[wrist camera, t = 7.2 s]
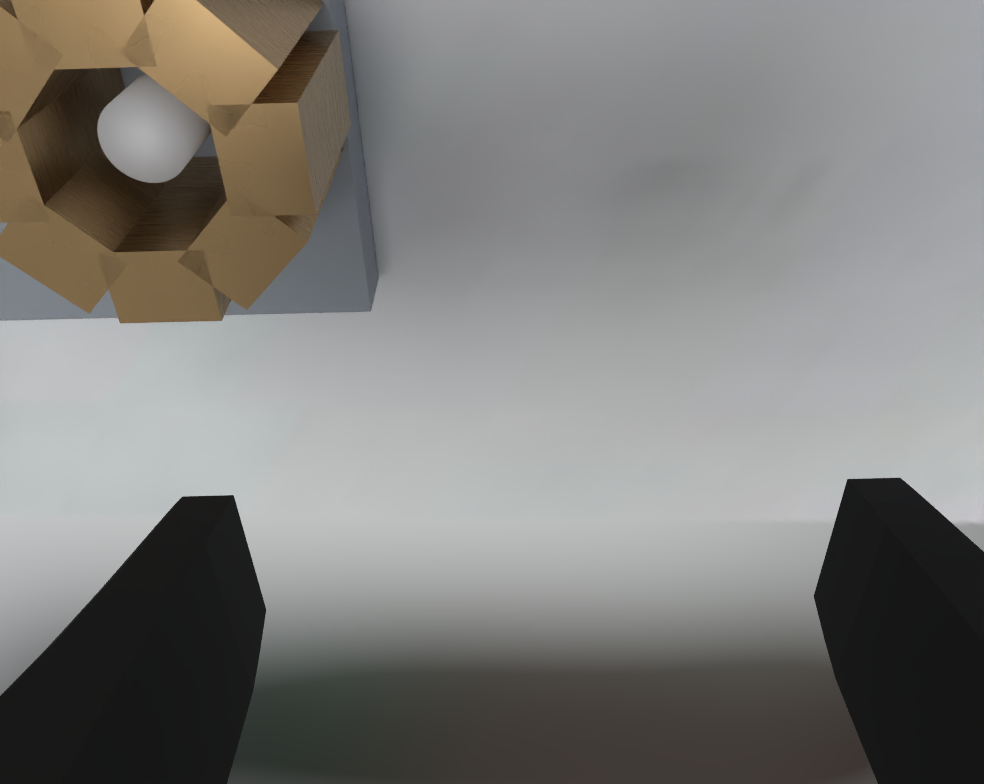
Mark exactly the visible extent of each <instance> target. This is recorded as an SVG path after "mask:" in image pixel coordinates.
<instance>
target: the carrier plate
mask: <svg viewBox="0 0 984 784" xmlns="http://www.w3.org/2000/svg"><path fill="white" fill-rule="evenodd" d="M322 1H323V2H324V4H323V6H322V7H321V9H320V10H319V12H318V13H317V14H316V16H315V17H314V19H313V20H312V22H311V23H310V25H309V26H308V27H307V29H306V30H305V31H328V30H339V35H340V43H341V51H342V59H343V66H344V74H345V82H346V90H347V97H348V105H349V113H350V121H351V126H350V128H349V131H348V133H347V136H346V138H345V141H344V143H343V146H342V147H343V148H344V150H343V153H342V155H341V158H340V160H339V163H338V166H337V168H336V171H335V173H334V176H333V178H332V181H331V184H330V186H329V189H328V191H327V194H326V197H325V199H324V202H323V204H322V207H321V210H320V212H319V215H318V217H317V220H316V223H315V225H314V228H313V230H312V233H311V235H310V238H309V241H308V243H307V244H306V245H305V246H304V247H303V248H302V249H301V250H300V251H299V253H298V254H297V255H296V256H295V257H294V258H293V259H292V260H291V261H290V263H289V264H288V265H287V266H286V267H285V268H284V269H283V270H282V271H281V273H280V274H279V275H278V276H277V277H276V278H275V279H274V280H273V282H272V283H271V284H270V285H269V286H268V287H267V288H266V289H265V290H264V292H263V293H262V294H261V295H260V296H259V297H258V298H257V299H256V300H255V302H254V303H253V304H252V305H251V306H250V307H249V308H248V309H247V310H246V309H244V308H243V307H241V306H240V305H239V304H237V303H236V302H234V301H233V300H231V302H230V304H229V306H228V308H227V310H226V313H225V315H244V314H284V313H324V312H364V311H371V308H372V304H373V299H374V295H375V290H376V286H377V282H378V271H377V263H376V255H375V247H374V239H373V231H372V223H371V215H370V207H369V199H368V191H367V182H366V174H365V166H364V158H363V150H362V142H361V134H360V126H359V118H358V110H357V102H356V94H355V86H354V77H353V69H352V61H351V53H350V45H349V37H348V29H347V21H346V13H345V5H344V0H322ZM120 70H121V74H122V78H123V81H124V85H125V88H126V89H124V90H123V91H122V92H121V93H120V94H119V95H118V96H117V97H115V98H114V99H113V100H112V101H111V102H110V103H109V104H108V105H107V106H106V107H105V108H104V109H103V111H102V112H101V114H100V117H99V120H98V125H97V132H98V139H99V142H100V145H101V148H102V150H103V152H104V153H105V155H106V156H107V158H108V159H109V160H110V162H111V163H112V164H113V165H114V166H115V167H116V168H117V169H119V170H120V171H121V172H122V173H124V174H126V175H127V176H129V177H131V178H133V179H136V180H139V181H142V182H148V183H161V182H165V181H168V180H171V179H172V178H174V177H176V176H177V175H178V174H179V173H180V172H181V171H182V170H183V169H184V167H185V166H186V165H187V163H188V162H189V161H190V160H191V158H192V157H209V156H217V153H216V148H215V144H214V140H213V135H212V131H211V126H210V124H209V123H208V122H207V121H205V120H204V119H203V118H202V117H200V116H199V115H198V114H196V113H195V112H194V111H193V110H191V109H190V108H189V107H188V106H186V105H185V104H184V103H182V102H181V101H180V100H179V99H177V98H176V97H175V96H174V95H172V94H171V93H170V92H169V91H167V90H166V89H165V88H163V87H162V86H161V85H160V84H158V83H157V82H156V81H155V80H153V79H152V78H151V77H150V76H148V75H147V74H146V73H144V72H143V71H142V70H141V69H139V68H138V67H121V68H120ZM6 225H7V223H0V234H1V233H2V231H3V230H4V228H5V226H6ZM83 318H118V316H117V313H116V310H115V307H114V304H113V301H112V298H111V295H110V292H109V289H108V290H107V292H106V293H105V294H104V296H103V297H102V298H101V299H100V301H99V302H98V303H97V305H96V306H95V307H94V309H93V310H92V311H91V312H90V314H88V313H87V312H85V311H84V310H82V309H81V308H79V307H78V306H76V305H74V304H73V303H71V302H70V301H68V300H67V299H65V298H64V297H62V296H60V295H59V294H57V293H56V292H54V291H53V290H51V289H50V288H48V287H46V286H45V285H43V284H42V283H40V282H39V281H37V280H35V279H34V278H32V277H31V276H29V275H28V274H26V273H25V272H23V271H21V270H20V269H18V268H17V267H15V266H14V265H12V264H11V263H9V262H7V261H6V260H4V259H3V258H1V257H0V321H3V320H43V319H83Z"/></svg>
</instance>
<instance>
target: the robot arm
mask: <svg viewBox="0 0 984 784" xmlns="http://www.w3.org/2000/svg"><path fill="white" fill-rule="evenodd" d="M814 599H815V603H816V607H817V611H818V615H819V619H820V622H821V627H822V631H823V635H824V639H825V643H826V646H827V650H828V653H829V657H830V660H831V663H832V667H833V671H834V674H835V678H836V680H837V683H838V686H839V688H840V691H841V693H842V696H843V698H844V701H845V703H846V706H847V708H848V711H849V713H850V716H851V718H852V721H853V723H854V726H855V728H856V731H857V733H858V736H859V738H860V741H861V743H862V746H863V748H864V750H865V753H866V755H867V758H868V760H869V763H870V765H871V768H872V770H873V773H874V775H875V777H876V780H877V782H878V784H984V552H983V551H982V550H981V549H980V548H979V547H978V546H977V545H975V544H974V543H973V542H972V541H971V540H970V539H969V538H968V537H967V536H965V535H964V534H963V533H962V532H961V531H960V530H959V529H958V528H956V527H955V526H954V525H953V524H952V523H951V522H950V521H949V520H948V519H947V518H945V517H944V516H943V515H942V514H941V513H940V512H939V511H938V510H937V509H935V508H934V507H933V506H932V505H931V504H930V503H929V502H928V501H926V500H925V499H924V498H923V497H922V496H921V495H920V494H918V493H917V492H916V491H915V490H914V489H913V488H912V487H910V486H909V485H908V484H907V483H906V482H905V481H903V480H902V479H901V478H874V479H847V483H846V486H845V490H844V493H843V497H842V500H841V504H840V507H839V510H838V514H837V517H836V521H835V524H834V528H833V532H832V535H831V539H830V542H829V545H828V549H827V552H826V556H825V559H824V563H823V566H822V569H821V573H820V576H819V580H818V583H817V587H816V591H815V594H814ZM265 614H266V608H265V604H264V601H263V597H262V594H261V590H260V586H259V583H258V579H257V576H256V573H255V569H254V565H253V562H252V558H251V555H250V551H249V548H248V544H247V541H246V537H245V534H244V530H243V527H242V524H241V520H240V516H239V513H238V509H237V506H236V502H235V499H234V495H228V496H190V497H182V498H181V499H180V500H179V501H178V502H177V503H176V504H175V505H174V506H173V507H172V508H171V509H170V511H169V512H168V513H167V514H166V515H165V516H164V517H163V518H162V520H161V521H160V522H159V523H158V524H157V525H156V526H155V528H154V529H153V530H152V531H151V532H150V533H149V535H148V536H147V537H146V538H145V539H144V540H143V541H142V543H141V544H140V545H139V546H138V547H137V549H136V550H135V551H134V552H133V553H132V554H131V555H130V557H129V558H128V559H127V560H126V561H125V562H124V563H123V565H122V566H121V567H120V568H119V569H118V570H117V571H116V573H115V574H114V575H113V576H112V577H111V578H110V580H108V582H107V583H106V584H105V585H104V586H103V587H102V589H101V590H100V591H99V592H98V593H97V594H96V595H95V596H94V597H93V598H92V600H91V601H90V602H89V603H88V604H87V605H86V606H85V607H84V608H83V609H82V611H81V612H80V613H79V614H78V615H77V616H76V617H75V618H74V619H73V621H72V622H71V623H70V624H69V625H68V626H67V627H66V628H65V629H64V630H63V631H62V633H61V634H60V635H59V636H58V637H57V638H56V639H55V640H54V641H53V642H52V644H51V645H50V646H49V647H48V648H47V649H46V650H45V651H44V652H43V653H42V654H41V655H40V656H39V657H38V658H37V659H36V660H35V661H34V662H33V663H32V664H31V665H30V666H29V667H28V668H27V669H26V670H25V671H24V672H23V673H22V674H21V675H20V677H18V679H16V681H15V682H14V683H13V684H12V685H11V686H10V687H9V688H8V689H7V690H6V691H5V692H4V693H3V694H2V695H1V696H0V784H227V781H228V777H229V774H230V771H231V767H232V764H233V760H234V757H235V753H236V750H237V746H238V743H239V739H240V736H241V732H242V729H243V725H244V722H245V718H246V715H247V711H248V707H249V704H250V700H251V696H252V693H253V688H254V683H255V677H256V671H257V665H258V660H259V654H260V647H261V640H262V634H263V627H264V620H265Z"/></svg>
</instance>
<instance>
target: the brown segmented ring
mask: <svg viewBox="0 0 984 784" xmlns="http://www.w3.org/2000/svg"><path fill="white" fill-rule="evenodd" d="M323 4H324V2H323V1H322V0H0V223H7V225H6V226H5V228H4V230H3V231H2V233H1V234H0V257H1V258H3V259H4V260H6V261H7V262H9V263H11V264H12V265H14V266H15V267H17V268H18V269H20V270H21V271H23V272H25V273H26V274H28V275H29V276H31V277H32V278H34V279H35V280H37V281H39V282H40V283H42V284H43V285H45V286H46V287H48V288H50V289H51V290H53V291H54V292H56V293H57V294H59V295H60V296H62V297H64V298H65V299H67V300H68V301H70V302H71V303H73V304H74V305H76V306H78V307H79V308H81V309H82V310H84V311H85V312H87V313H88V314H90V312H91V311H92V310H93V309H94V307H95V306H96V305H97V303H98V302H99V301H100V299H101V298H102V297H103V296H104V294H105V293H106V292H107V290H108V289H109V292H110V295H111V298H112V301H113V304H114V307H115V310H116V313H117V316H118V319H119V321H120V323H146V322H187V321H222V319H223V317H224V315H225V313H226V310H227V308H228V306H229V304H230V302H231V300H233V301H234V302H236V303H237V304H239V305H240V306H241V307H243V308H244V309H246V310H247V309H248V308H249V307H250V306H251V305H252V304H253V303H254V302H255V300H256V299H257V298H258V297H259V296H260V295H261V294H262V293H263V292H264V290H265V289H266V288H267V287H268V286H269V285H270V284H271V283H272V282H273V280H274V279H275V278H276V277H277V276H278V275H279V274H280V273H281V271H282V270H283V269H284V268H285V267H286V266H287V265H288V264H289V263H290V261H291V260H292V259H293V258H294V257H295V256H296V255H297V254H298V253H299V251H300V250H301V249H302V248H303V247H304V246H305V245H306V244H307V243H308V241H309V238H310V235H311V233H312V230H313V228H314V225H315V223H316V220H317V217H318V215H319V212H320V210H321V207H322V204H323V202H324V199H325V197H326V194H327V191H328V189H329V186H330V184H331V181H332V178H333V176H334V173H335V171H336V168H337V166H338V163H339V160H340V158H341V155H342V153H343V150H344V148H343V147H342V146H343V143H344V141H345V138H346V136H347V133H348V131H349V128H350V126H351V121H350V113H349V105H348V97H347V90H346V82H345V74H344V66H343V59H342V51H341V43H340V35H339V30H328V31H305V30H306V29H307V27H308V26H309V25H310V23H311V22H312V20H313V19H314V17H315V16H316V14H317V13H318V12H319V10H320V9H321V7H322V6H323ZM121 67H138V68H139V69H141V70H142V71H143V72H144V73H146V74H147V75H148V76H150V77H151V78H152V79H153V80H155V81H156V82H157V83H158V84H160V85H161V86H162V87H163V88H165V89H166V90H167V91H169V92H170V93H171V94H172V95H174V96H175V97H176V98H177V99H179V100H180V101H181V102H182V103H184V104H185V105H186V106H188V107H189V108H190V109H191V110H193V111H194V112H195V113H196V114H198V115H199V116H200V117H202V118H203V119H204V120H205V121H207V122H208V123H209V124H210V126H211V131H212V135H213V140H214V144H215V148H216V153H217V156H209V157H192V158H191V160H190V161H189V162H188V163H187V165H186V166H185V167H184V169H183V170H182V171H181V172H180V173H179V174H178V175H177V176H176V177H174V178H172V179H171V180H168V181H165V182H161V183H148V182H142V181H139V180H136V179H133V178H131V177H129V176H127V175H126V174H124V173H122V172H121V171H120V170H119V169H117V168H116V167H115V166H114V165H113V164H112V163H111V162H110V160H109V159H108V158H107V156H106V155H105V153H104V152H103V150H102V148H101V145H100V142H99V139H98V132H97V125H98V120H99V117H100V114H101V112H102V111H103V109H104V108H105V107H106V106H107V105H108V104H109V103H110V102H111V101H112V100H113V99H114V98H115V97H117V96H118V95H119V94H120V93H121V92H122V91H123V90H124V89H126V88H125V85H124V81H123V78H122V74H121V70H120V68H121Z"/></svg>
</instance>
